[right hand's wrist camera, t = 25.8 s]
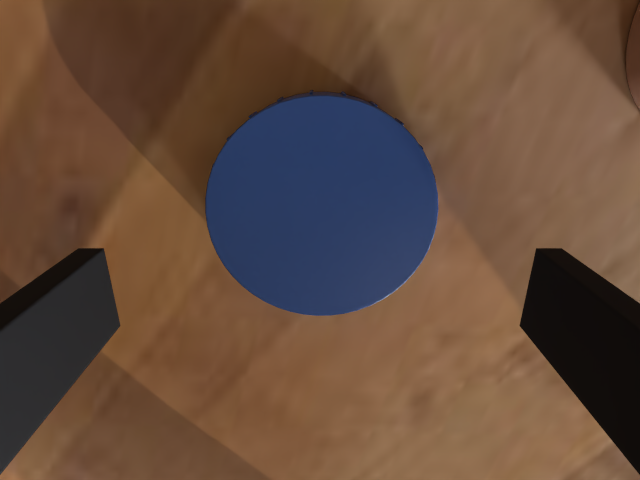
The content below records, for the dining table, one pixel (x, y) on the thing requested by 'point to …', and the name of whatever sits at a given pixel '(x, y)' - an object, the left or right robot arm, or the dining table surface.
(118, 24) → the dining table surface
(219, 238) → the lid
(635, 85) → the jar
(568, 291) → the right robot arm
